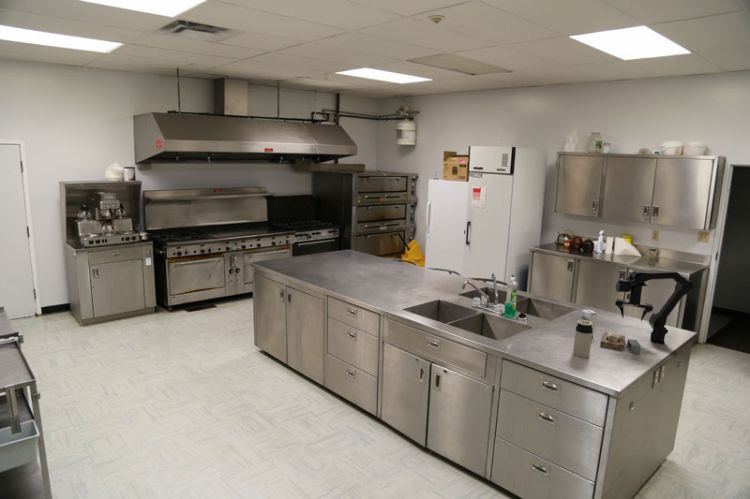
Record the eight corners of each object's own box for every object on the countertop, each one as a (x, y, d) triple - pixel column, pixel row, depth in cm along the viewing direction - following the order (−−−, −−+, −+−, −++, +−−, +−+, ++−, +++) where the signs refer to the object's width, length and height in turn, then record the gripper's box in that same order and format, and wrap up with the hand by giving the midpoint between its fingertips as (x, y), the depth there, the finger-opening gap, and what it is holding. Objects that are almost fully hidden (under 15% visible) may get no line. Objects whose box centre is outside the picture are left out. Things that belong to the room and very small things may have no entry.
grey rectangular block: (635, 348, 267) (636, 340, 266) (639, 355, 258) (641, 346, 257) (626, 347, 268) (627, 339, 267) (630, 354, 259) (631, 345, 258)
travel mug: (581, 358, 251) (585, 325, 247) (569, 352, 258) (573, 320, 254) (592, 356, 254) (597, 323, 250) (580, 350, 261) (584, 318, 257)
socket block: (624, 340, 277) (625, 335, 277) (622, 350, 263) (623, 345, 262) (603, 336, 283) (604, 331, 282) (600, 346, 268) (600, 340, 268)
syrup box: (578, 333, 286) (581, 310, 283) (586, 332, 289) (589, 309, 286) (586, 337, 281) (589, 313, 278) (593, 336, 283) (596, 312, 280)
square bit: (617, 344, 272) (618, 334, 270) (616, 347, 268) (617, 336, 267) (608, 342, 274) (609, 332, 273) (607, 345, 270) (608, 335, 269)
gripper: (655, 292, 277) (651, 318, 280) (618, 287, 286) (615, 312, 289) (654, 297, 267) (650, 324, 270) (616, 291, 276) (613, 317, 279)
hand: (632, 319), depth 277 cm, fingers open, 9 cm apart
